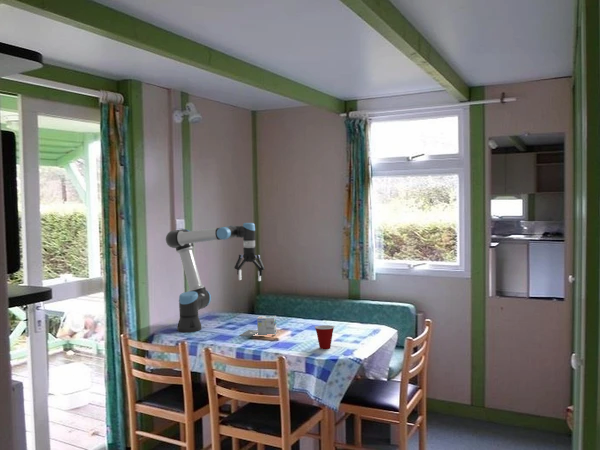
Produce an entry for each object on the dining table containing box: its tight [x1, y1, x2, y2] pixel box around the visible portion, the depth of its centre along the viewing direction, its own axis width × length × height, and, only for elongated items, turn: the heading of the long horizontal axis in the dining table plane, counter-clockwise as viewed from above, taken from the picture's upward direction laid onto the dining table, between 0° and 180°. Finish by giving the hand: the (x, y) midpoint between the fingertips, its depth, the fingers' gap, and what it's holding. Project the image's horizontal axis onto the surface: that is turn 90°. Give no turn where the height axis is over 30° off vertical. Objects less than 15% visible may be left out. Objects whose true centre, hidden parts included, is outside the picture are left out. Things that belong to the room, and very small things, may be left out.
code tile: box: [239, 329, 258, 337], centre depth 317 cm, size 20×14×1 cm
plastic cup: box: [314, 324, 335, 350], centre depth 283 cm, size 11×11×12 cm
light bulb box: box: [256, 315, 278, 335], centre depth 314 cm, size 11×7×11 cm, turn 83°
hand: (249, 280), depth 332 cm, fingers open, 13 cm apart
